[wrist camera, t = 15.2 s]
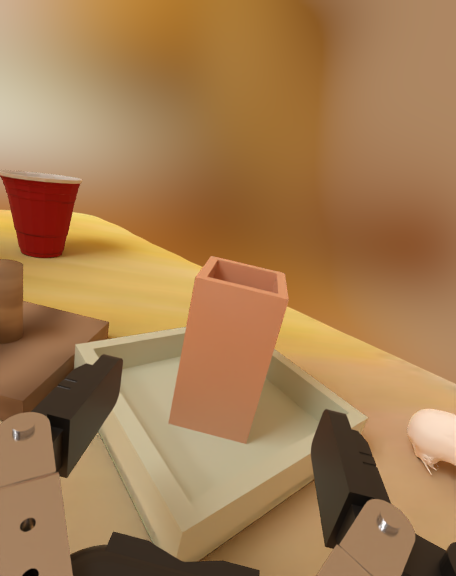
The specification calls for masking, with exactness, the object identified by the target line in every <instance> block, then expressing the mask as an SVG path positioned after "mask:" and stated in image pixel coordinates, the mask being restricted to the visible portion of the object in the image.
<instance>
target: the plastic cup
mask: <svg viewBox="0 0 456 576" xmlns="http://www.w3.org/2000/svg"><path fill="white" fill-rule="evenodd" d="M0 177H1V178H2V180H3V184H4V185H5V189H6V192H7V194H8V198H9V203H10V208H11V213H12V217H13V222H14V227H15V230H16V233H17V238H18V244H19V247H20V250H21V252H22V253H23V254H26V255H28V256H33V257H41V258H51V257H58V256H60V255H62V251H63V250H64V246H65V241H66V236H67V234H68V230H69V226H70V221H71V216H72V212H73V207H74V202H75V200H76V195H77V192H78V188H79V186H80V184H81V183H82V179H79V178H74V177H68V176H61V175H54V174H45V173H35V172H24V171H9V170H0Z"/></svg>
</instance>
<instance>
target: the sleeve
mask: <svg viewBox="0 0 456 576" xmlns="http://www.w3.org/2000/svg"><path fill="white" fill-rule="evenodd" d="M288 300H289V299H288V293H287V286H286V279H285V274H284V273H281V272H277V271H272V270H269V269H264V268H260V267H256V266H252V265H248V264H243V263H239V262H235V261H231V260H226V259H222V258H218V257H214V256H211V257H210V258H209V260H208V261H207V262H206V264H205V265H204V266H203V268H202V269H201V270H200V272H199V273H198V275H197V276H196V277H195V282H194V288H193V293H192V299H191V304H190V309H189V315H188V320H187V325H186V331H185V336H184V342H183V347H182V352H181V358H180V363H179V369H178V374H177V379H176V385H175V390H174V395H173V401H172V406H171V412H170V417H169V422H168V424H171V425H175V426H179V427H183V428H187V429H190V430H194V431H198V432H202V433H206V434H210V435H213V436H217V437H221V438H225V439H229V440H233V441H236V442H240V443H244V444H246V443H247V440H248V436H249V433H250V430H251V426H252V423H253V419H254V416H255V413H256V409H257V406H258V402H259V399H260V396H261V392H262V389H263V385H264V382H265V378H266V375H267V372H268V368H269V365H270V361H271V358H272V355H273V351H274V348H275V344H276V341H277V338H278V334H279V331H280V327H281V324H282V321H283V317H284V314H285V310H286V307H287V303H288Z"/></svg>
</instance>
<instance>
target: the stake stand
mask: <svg viewBox="0 0 456 576" xmlns="http://www.w3.org/2000/svg"><path fill="white" fill-rule="evenodd" d="M108 328H109V322H106V321H102V320H98V319H94V318H90V317H86V316H82V315H78V314H74V313H70V312H66V311H62V310H58V309H54V308H50V307H46V306H42V305H37V304H33V303H29V302H25V301H23V264H22V263H20V262H17V261H13V260H6V259H0V420H2V421H5V420H6V419H8V418H9V417H11V416H14V415H17V414H20V413H25V412H31V411H32V410H33V409H34V408H35V407H36V406H37V405H38V404H39V403H40V402H41V401H42V400H43V399H44V398H45V397H46V396H47V395H48V394H49V393H50V392H51V391H52V390H53V389H54V388H55V387H57V386H58V384H59V383H60V382H61V381H62V380H64V379H65V377H66V376H67V375H68V374H69V373H70V372H71V371H72V370H73V369H74V359H75V344H81V343H88V342H94V341H100V340H107V338H108Z"/></svg>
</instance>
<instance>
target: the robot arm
mask: <svg viewBox="0 0 456 576" xmlns="http://www.w3.org/2000/svg"><path fill="white" fill-rule="evenodd" d="M122 368H123V359H122V358H118V357H114V356H110V355H106V354H103V355H101V356H100V358H99V359H98V360H97V361H96V362H95V363H94V364H93V365H91V364H87V363H86V364H84V365H81V366H79V367H77V368H75V369H73V370H72V371H71V372H70V373H69V374H68V375H67V376H66V377H65V379H64V380H62V381H61V382H60V383H59V384H58V386H57V387H55V388H54V389H53V390H52V391H51V392H50V393H49V394H48V395H47V396H46V397H45V398H44V399H43V400H42V401H41V402H40V403H39V404H38V405H37V406H36V407H35V408H34V409H33V410H32V411H31V412H25V413H20V414H17V415H14V416H11V417H9V418H8V419H6V420H5V421H3V422H2V423H1V424H0V576H259V570H256V569H252V568H248V567H245V566H241V565H237V564H233V563H230V562H226V561H201V562H184V561H181V560H179V559H177V558H176V557H174V556H172V555H171V554H169V553H168V552H166V551H164V550H163V549H161V548H159V547H158V546H156V545H154V544H153V543H151V542H149V541H147V540H143V539H139V538H135V537H132V536H128V535H124V534H120V533H117V532H113V533H112V535H111V538H110V540H109V542H108V545H99V546H93V547H89V548H85V549H82V550H80V551H77V552H75V553H72V554H71V555H70V550H69V543H68V535H67V528H66V520H65V513H64V505H63V498H62V490H61V483H60V476H61V477H65V478H67V477H68V476H69V474H70V473H71V471H72V470H73V468H74V467H75V465H76V464H77V462H78V461H79V459H80V458H81V456H82V455H83V453H84V452H85V450H86V449H87V447H88V446H89V444H90V443H91V441H92V440H93V438H94V437H95V435H96V434H97V432H98V431H99V429H100V428H101V426H102V425H103V423H104V422H105V420H106V419H107V417H108V416H109V414H110V413H111V411H112V410H113V408H114V406H115V404H116V402H117V400H118V397H119V393H120V385H121V377H122ZM311 461H312V467H313V473H314V480H315V486H316V492H317V499H318V505H319V511H320V517H321V524H322V530H323V536H324V543H325V547H329V548H333V551H332V552H331V554H330V555H329V557H328V558H327V560H326V561H325V563H324V564H323V566H322V568H321V569H320V571H319V572H318V574H317V575H316V576H456V542H454V543H452V544H450V546H449V547H448V549H447V550H444V549H442V548H440V547H438V546H436V545H434V544H433V543H431V542H429V541H427V540H425V539H423V538H422V537H420V536H418V535H417V534H415V532H414V529H413V527H412V525H411V523H410V521H409V520H408V519H407V517H406V516H405V515H404V514H403V513H402V512H401V511H400V510H399V509H398V508H396V507H395V506H393V505H392V504H391V503H390V500H389V497H388V495H387V492H386V489H385V487H384V484H383V482H382V479H381V476H380V474H379V471H378V469H377V467H376V463H375V461H374V458H373V457H372V453H371V450H370V448H369V445H368V443H367V441H366V440H365V439H364V438H363V436H362V435H361V434H360V433H359V431H356V430H352V429H351V426H350V423H349V420H348V417H347V415H346V414H345V413H340V412H336V411H332V410H328V409H325V410H324V411H323V413H322V416H321V419H320V421H319V424H318V427H317V430H316V432H315V435H314V438H313V441H312V445H311Z"/></svg>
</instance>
